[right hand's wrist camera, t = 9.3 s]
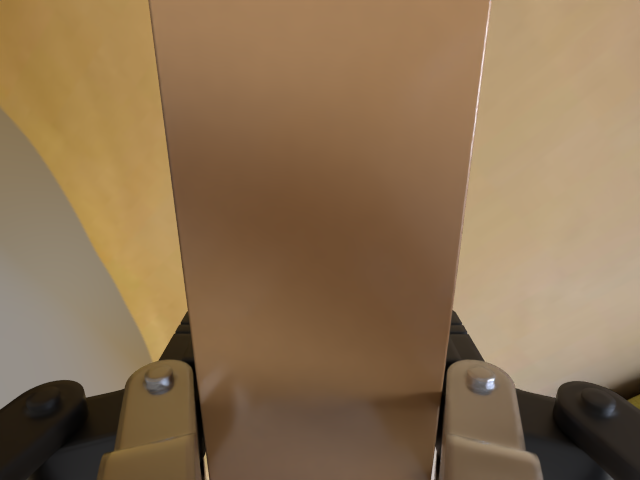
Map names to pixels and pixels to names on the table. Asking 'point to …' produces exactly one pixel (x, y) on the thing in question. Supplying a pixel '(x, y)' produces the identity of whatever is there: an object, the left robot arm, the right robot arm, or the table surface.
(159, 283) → the table surface
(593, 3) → the table surface
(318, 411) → the bar
